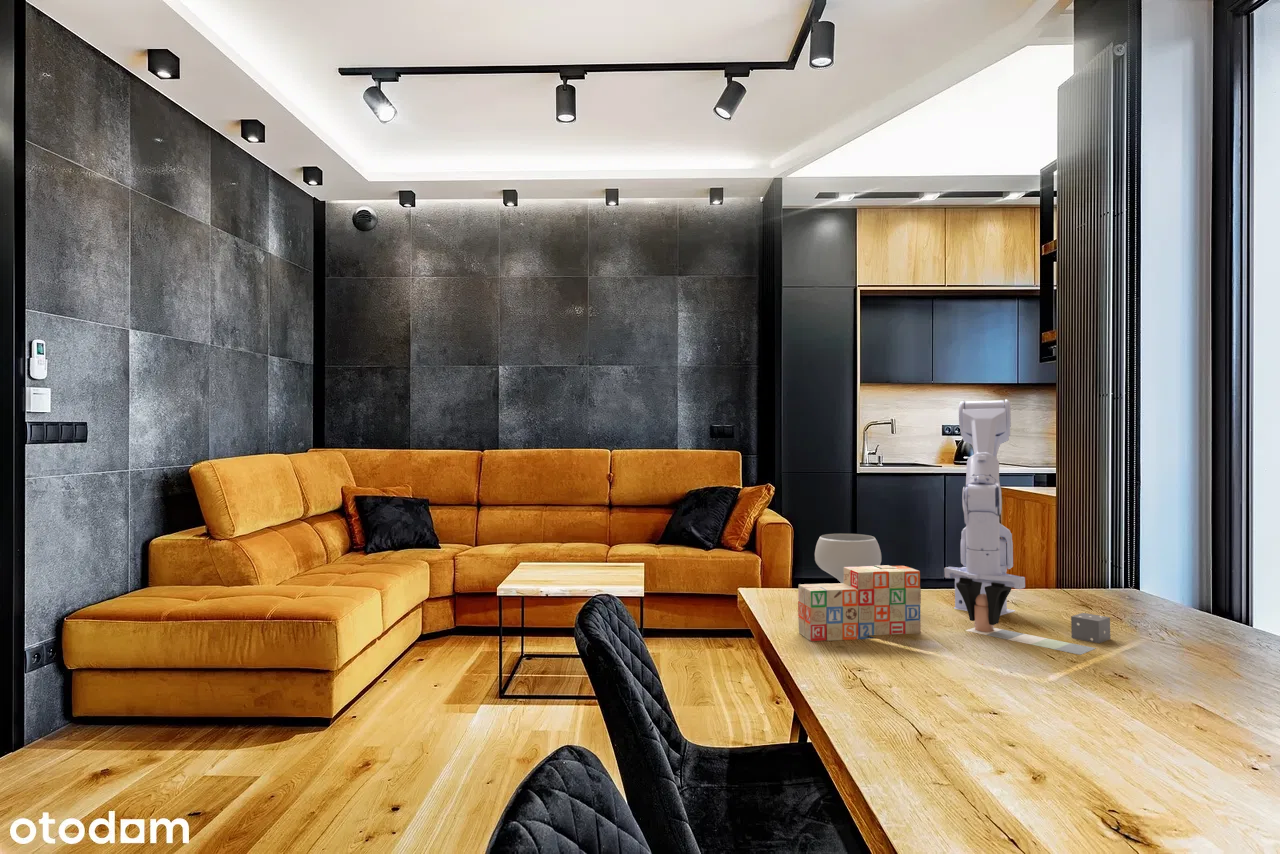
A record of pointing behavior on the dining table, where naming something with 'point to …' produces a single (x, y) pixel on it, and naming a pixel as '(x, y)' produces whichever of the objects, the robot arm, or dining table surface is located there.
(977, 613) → the pawn
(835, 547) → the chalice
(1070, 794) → the dining table surface
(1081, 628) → the die
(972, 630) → the board
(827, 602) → the stack of blocks
